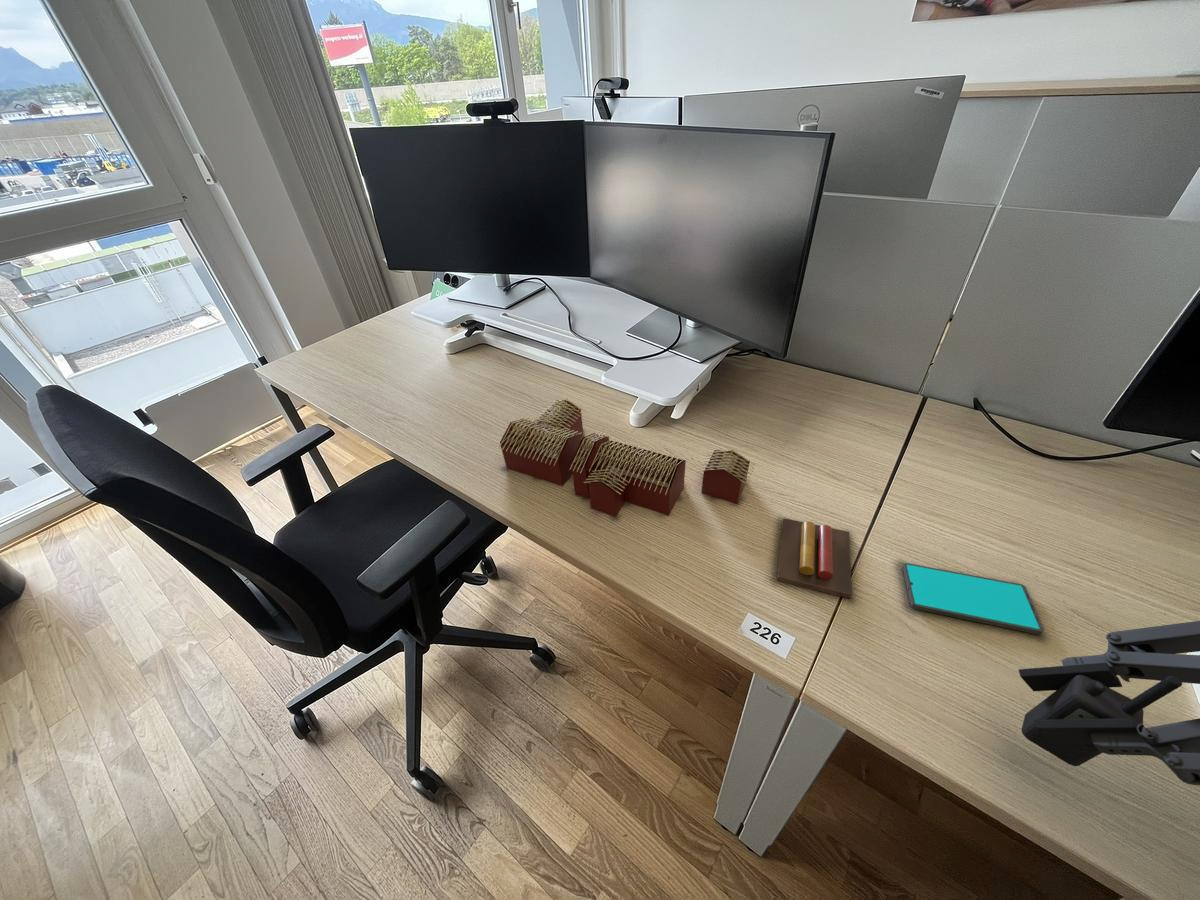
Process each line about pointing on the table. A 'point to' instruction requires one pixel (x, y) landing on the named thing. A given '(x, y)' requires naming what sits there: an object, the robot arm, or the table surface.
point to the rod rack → (815, 557)
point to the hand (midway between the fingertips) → (1034, 705)
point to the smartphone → (971, 598)
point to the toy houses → (611, 464)
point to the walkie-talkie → (1089, 712)
